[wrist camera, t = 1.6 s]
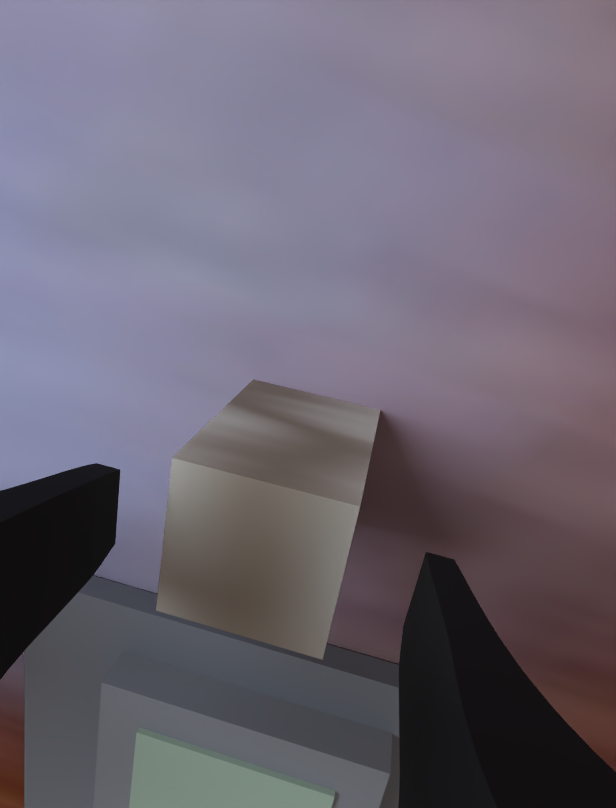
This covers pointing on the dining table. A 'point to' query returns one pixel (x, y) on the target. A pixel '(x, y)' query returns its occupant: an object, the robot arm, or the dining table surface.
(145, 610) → the stepped stand
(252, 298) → the dining table surface
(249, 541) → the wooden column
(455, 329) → the dining table surface
